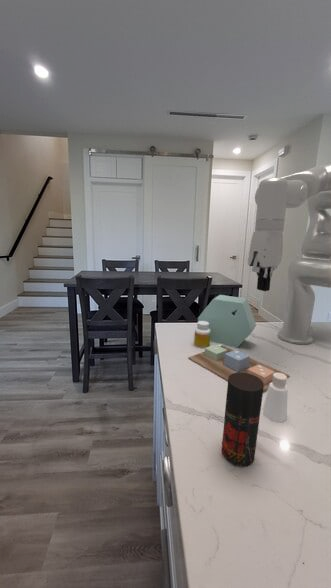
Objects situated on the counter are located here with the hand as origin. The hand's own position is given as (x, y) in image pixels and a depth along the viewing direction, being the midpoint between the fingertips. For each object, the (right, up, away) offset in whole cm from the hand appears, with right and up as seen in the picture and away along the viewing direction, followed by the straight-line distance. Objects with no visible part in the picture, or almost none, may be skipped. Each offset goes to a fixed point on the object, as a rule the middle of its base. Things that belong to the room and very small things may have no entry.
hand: (263, 289), depth 79 cm
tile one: (-13, -22, +5) cm, 27 cm away
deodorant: (-16, -31, -30) cm, 46 cm away
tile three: (-3, -26, -7) cm, 27 cm away
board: (-8, -24, -1) cm, 26 cm away
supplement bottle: (-16, -21, +14) cm, 30 cm away
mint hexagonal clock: (-7, -20, +19) cm, 28 cm away
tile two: (-8, -23, -1) cm, 24 cm away
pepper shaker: (-5, -29, -20) cm, 36 cm away
